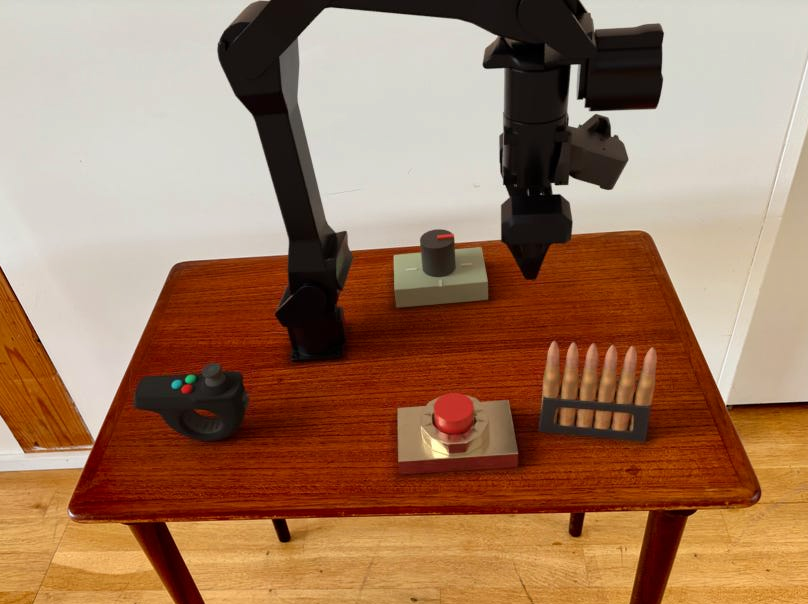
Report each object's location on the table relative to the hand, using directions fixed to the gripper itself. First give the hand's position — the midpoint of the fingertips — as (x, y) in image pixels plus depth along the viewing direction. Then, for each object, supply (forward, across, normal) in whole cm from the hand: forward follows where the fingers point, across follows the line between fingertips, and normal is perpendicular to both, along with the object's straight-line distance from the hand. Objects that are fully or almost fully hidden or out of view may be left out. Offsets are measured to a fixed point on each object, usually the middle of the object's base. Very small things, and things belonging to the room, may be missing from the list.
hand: (528, 253), depth 75 cm
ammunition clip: (+14, -13, -6) cm, 20 cm away
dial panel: (+14, +13, +11) cm, 22 cm away
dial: (+11, +13, +11) cm, 20 cm away
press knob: (+10, -15, +8) cm, 20 cm away
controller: (+14, -14, +36) cm, 41 cm away
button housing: (+14, -15, +8) cm, 22 cm away
